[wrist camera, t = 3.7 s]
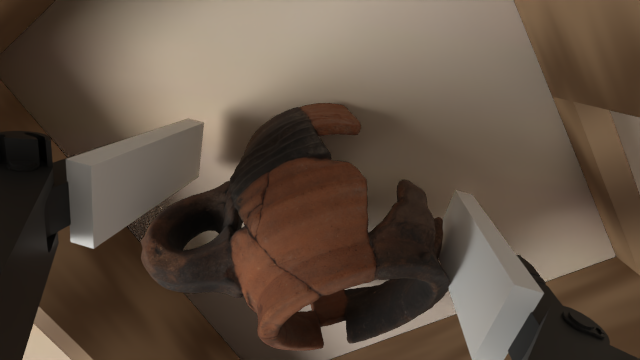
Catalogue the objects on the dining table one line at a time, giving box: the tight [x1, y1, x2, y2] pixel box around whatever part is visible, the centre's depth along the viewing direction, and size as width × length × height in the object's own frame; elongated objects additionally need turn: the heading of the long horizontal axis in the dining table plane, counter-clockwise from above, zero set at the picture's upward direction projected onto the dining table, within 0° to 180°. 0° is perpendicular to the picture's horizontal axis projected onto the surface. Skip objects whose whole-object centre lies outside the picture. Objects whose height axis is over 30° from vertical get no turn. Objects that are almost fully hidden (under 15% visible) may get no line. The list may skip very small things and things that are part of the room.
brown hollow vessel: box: [141, 103, 450, 351], centre depth 15 cm, size 12×9×8 cm
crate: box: [0, 0, 640, 360], centre depth 14 cm, size 26×24×6 cm
